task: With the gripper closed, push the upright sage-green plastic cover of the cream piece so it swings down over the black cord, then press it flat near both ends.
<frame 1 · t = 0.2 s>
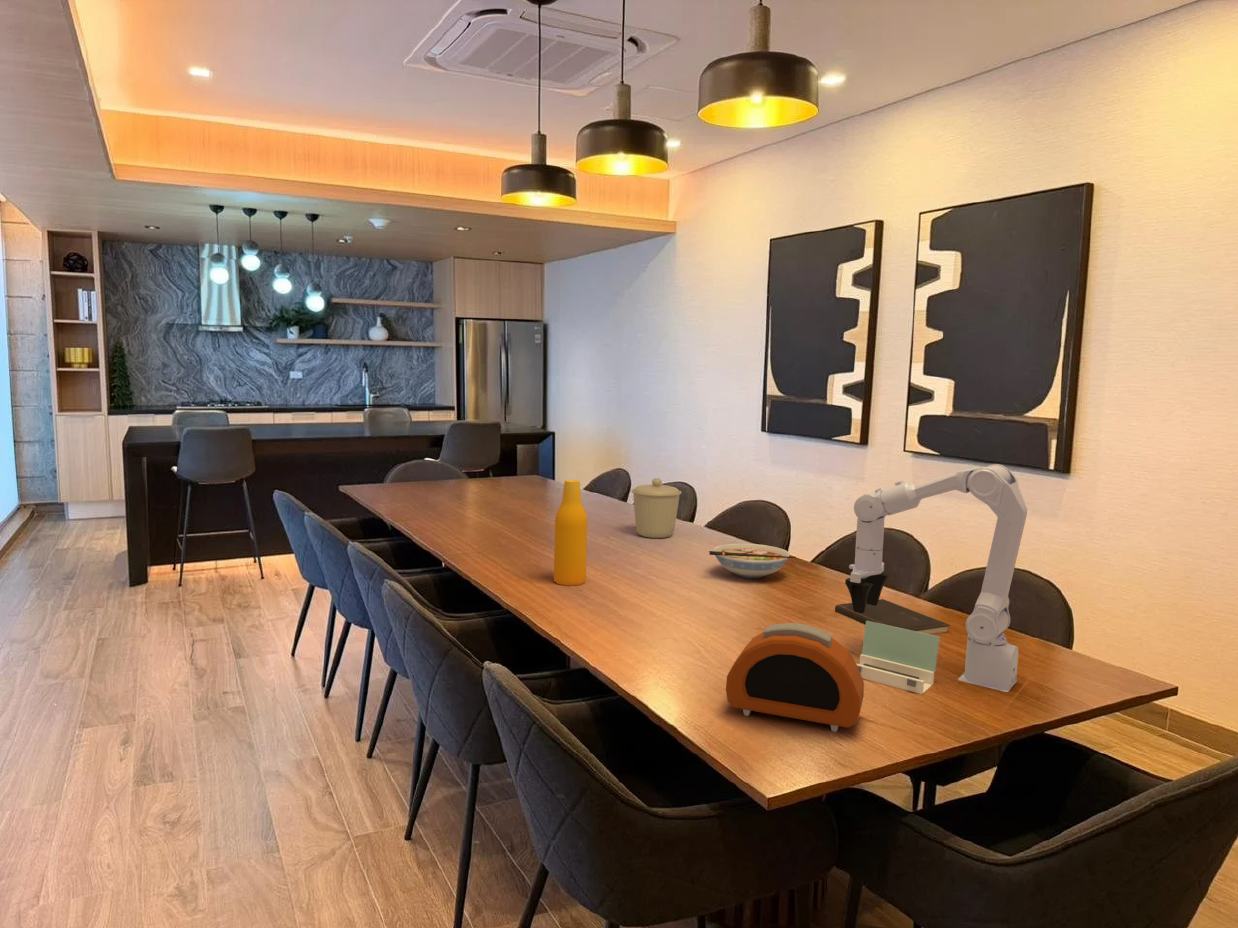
hand: (865, 608, 182), 10 cm above the table, fingers open, 7 cm apart
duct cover: (899, 645, 169), point 6 cm above the table, hinge at 100.0°
hardcover book: (889, 624, 207), on the table
ramen bowl: (750, 576, 248), on the table
alarm clock: (793, 716, 149), on the table
canister: (654, 536, 301), on the table
cream piece: (889, 681, 167), on the table
beer bottle: (569, 582, 235), on the table
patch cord: (889, 678, 167), point 1 cm above the table, touching cream piece
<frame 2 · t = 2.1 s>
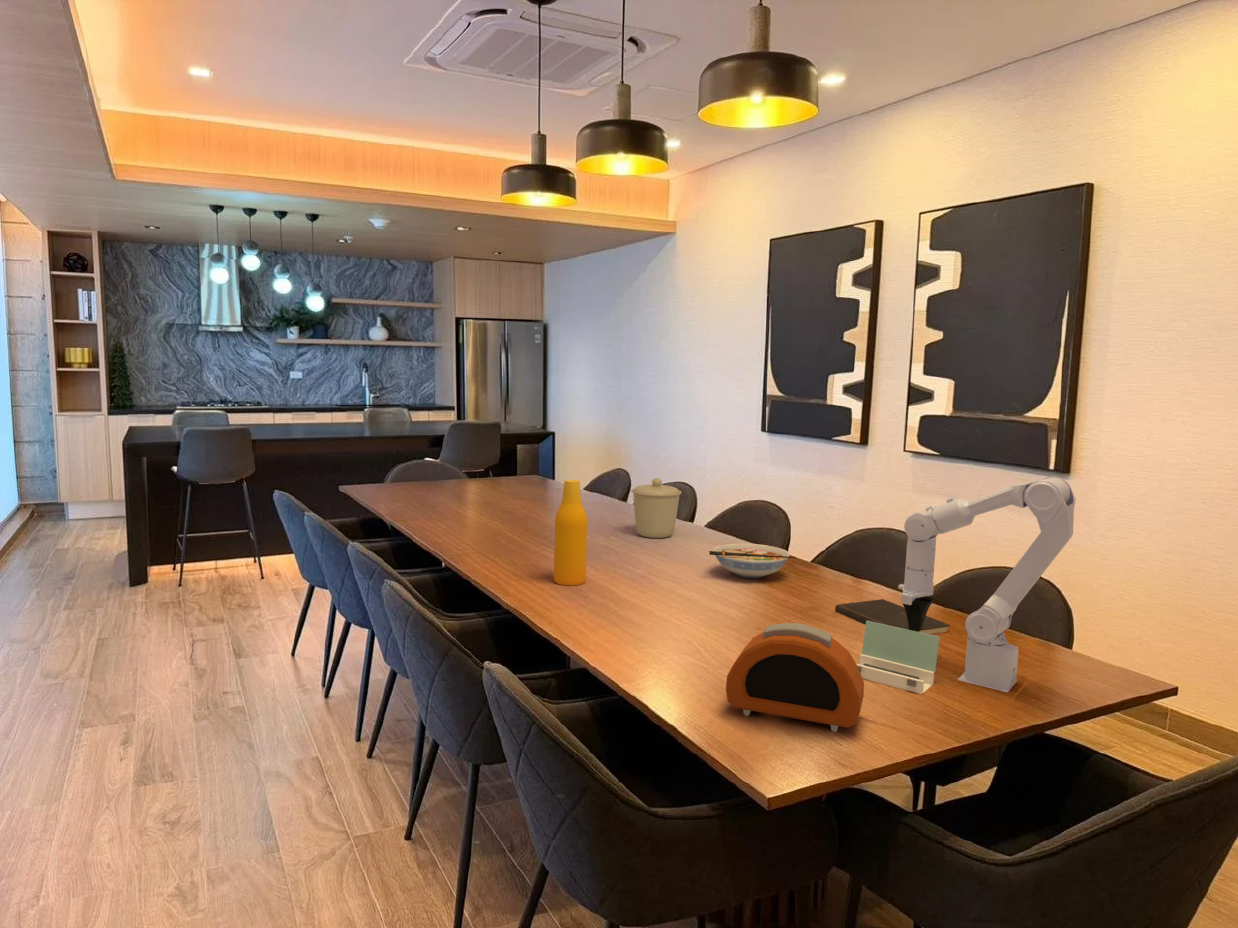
hand: (915, 630, 176), 7 cm above the table, fingers closed
nothing on the table moved.
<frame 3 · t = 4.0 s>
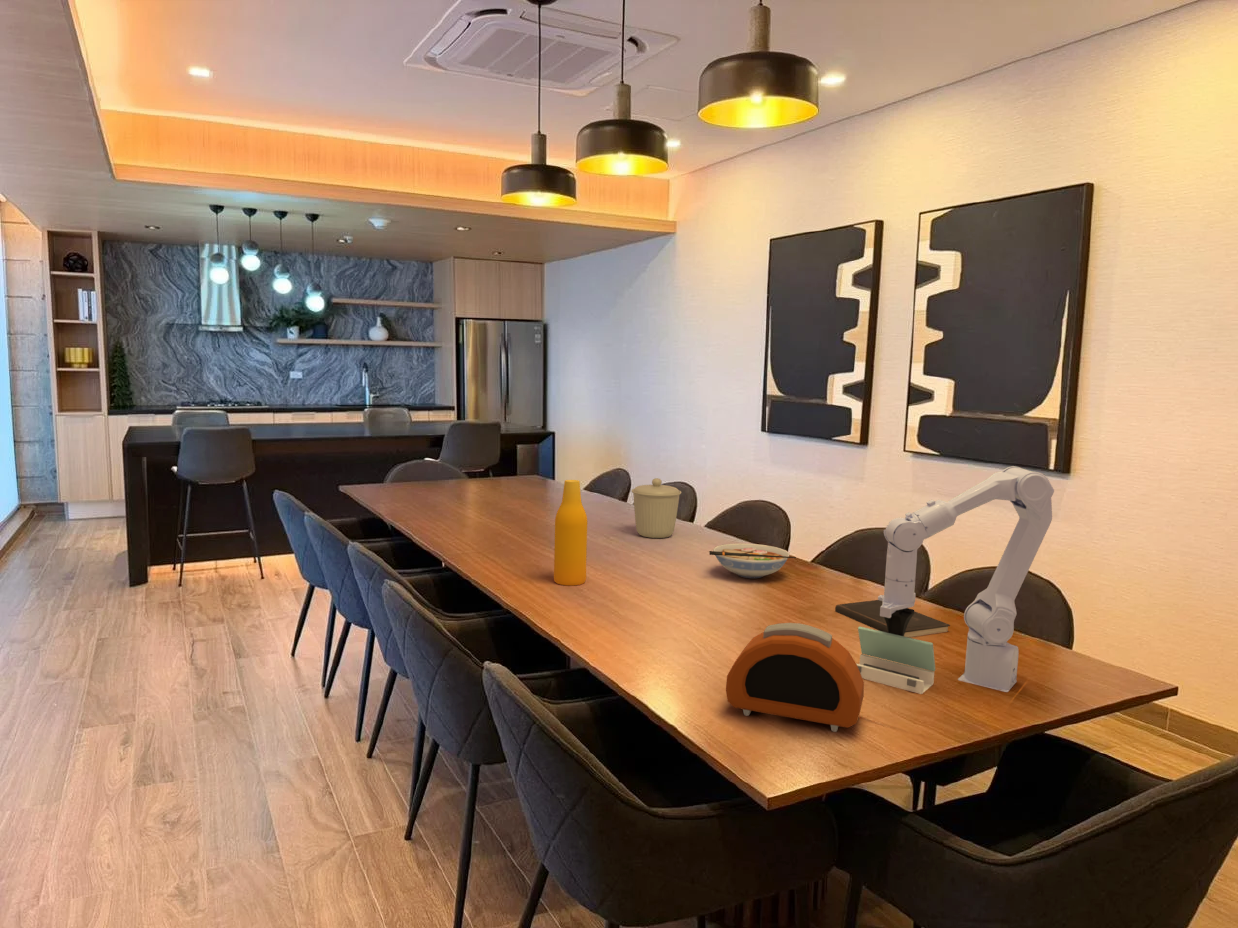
hand: (895, 643, 167), 7 cm above the table, fingers closed, pressing on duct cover
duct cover: (896, 648, 168), point 6 cm above the table, hinge at 63.7°, touching gripper
everything else where it was.
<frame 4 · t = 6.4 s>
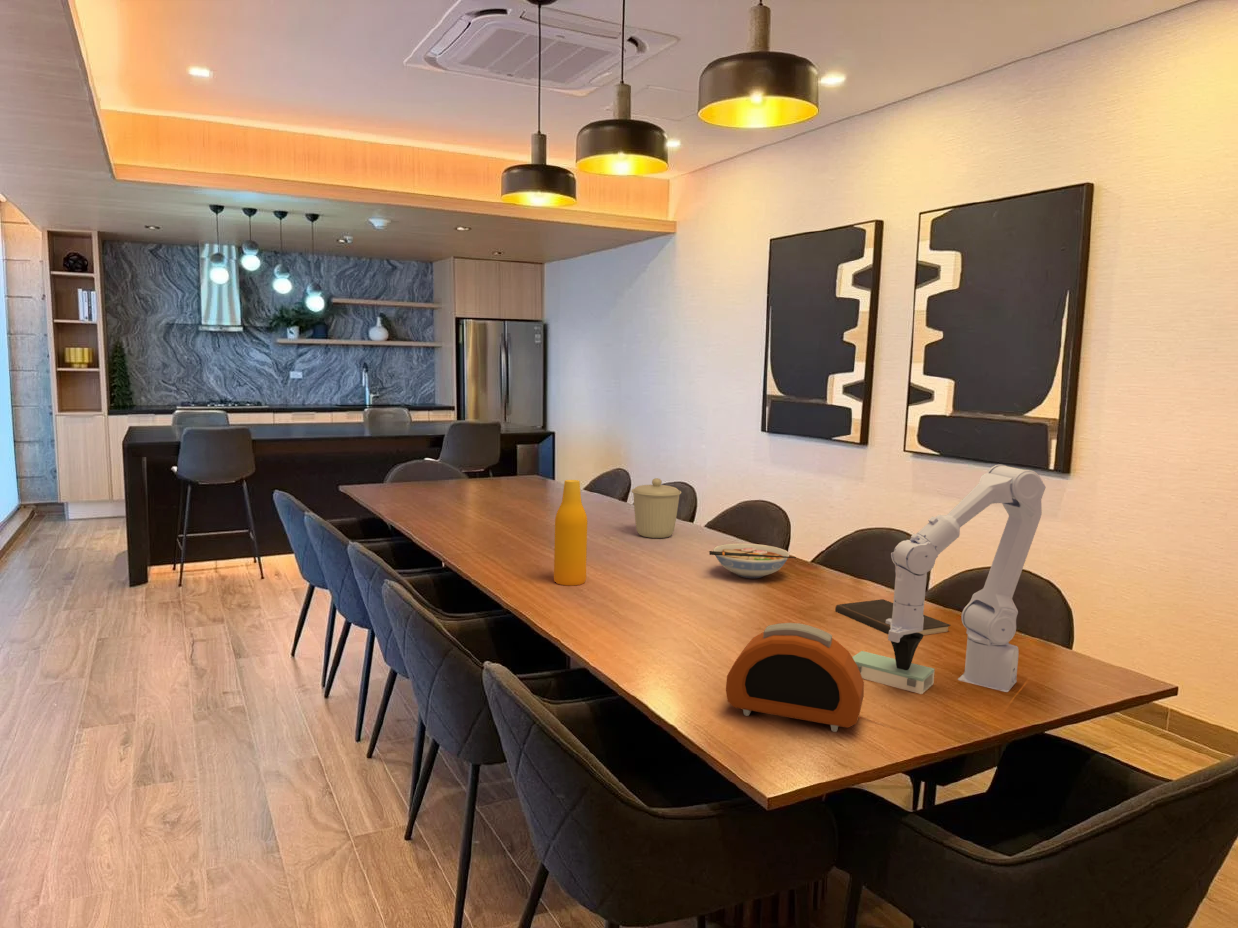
hand: (902, 668, 164), 4 cm above the table, fingers closed, pressing on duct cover
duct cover: (890, 665, 166), point 3 cm above the table, hinge at -0.3°, touching gripper
everything else where it was.
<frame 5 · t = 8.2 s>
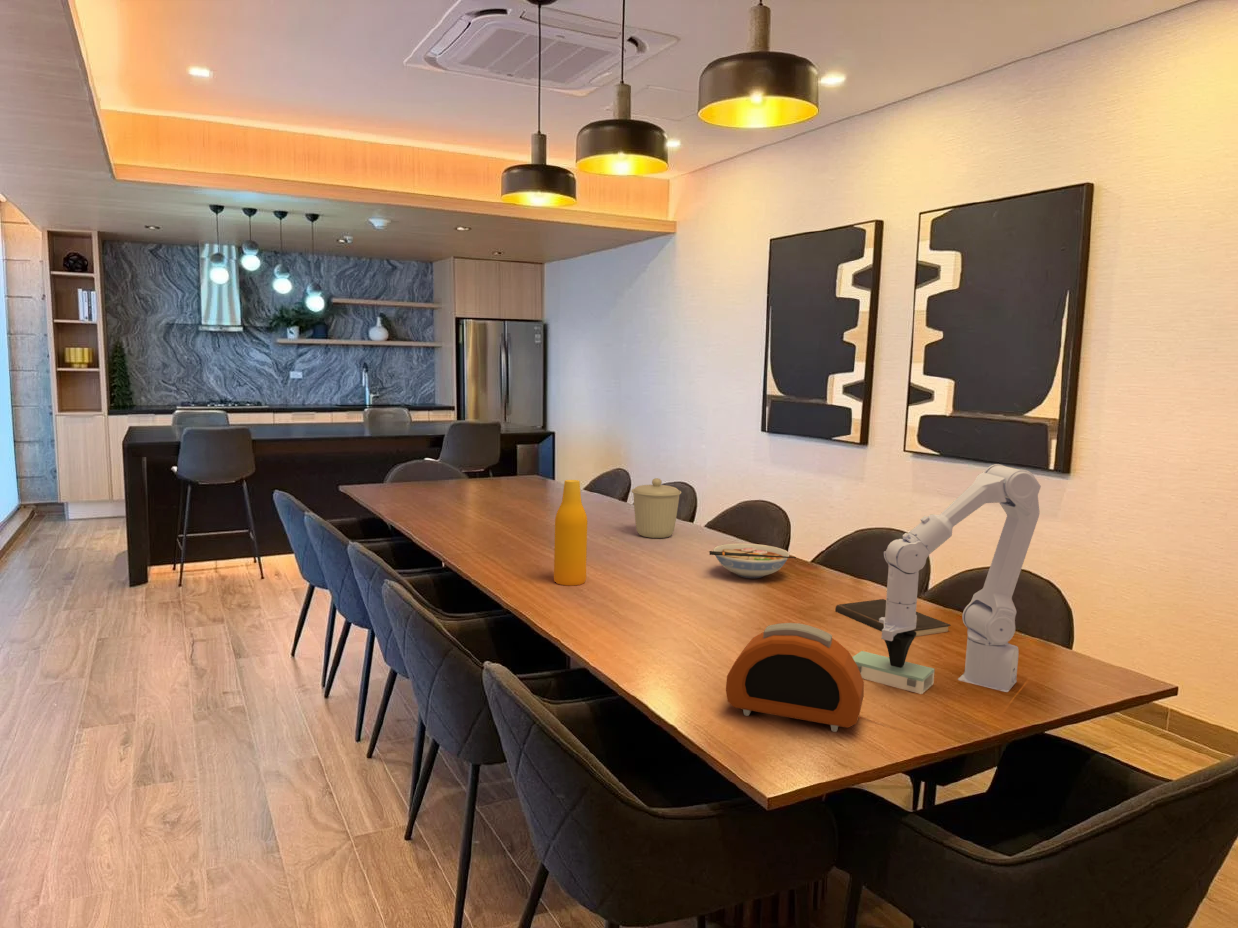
hand: (896, 666, 165), 3 cm above the table, fingers closed, pressing on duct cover
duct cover: (890, 665, 166), point 3 cm above the table, hinge at -0.5°, touching gripper
everything else where it was.
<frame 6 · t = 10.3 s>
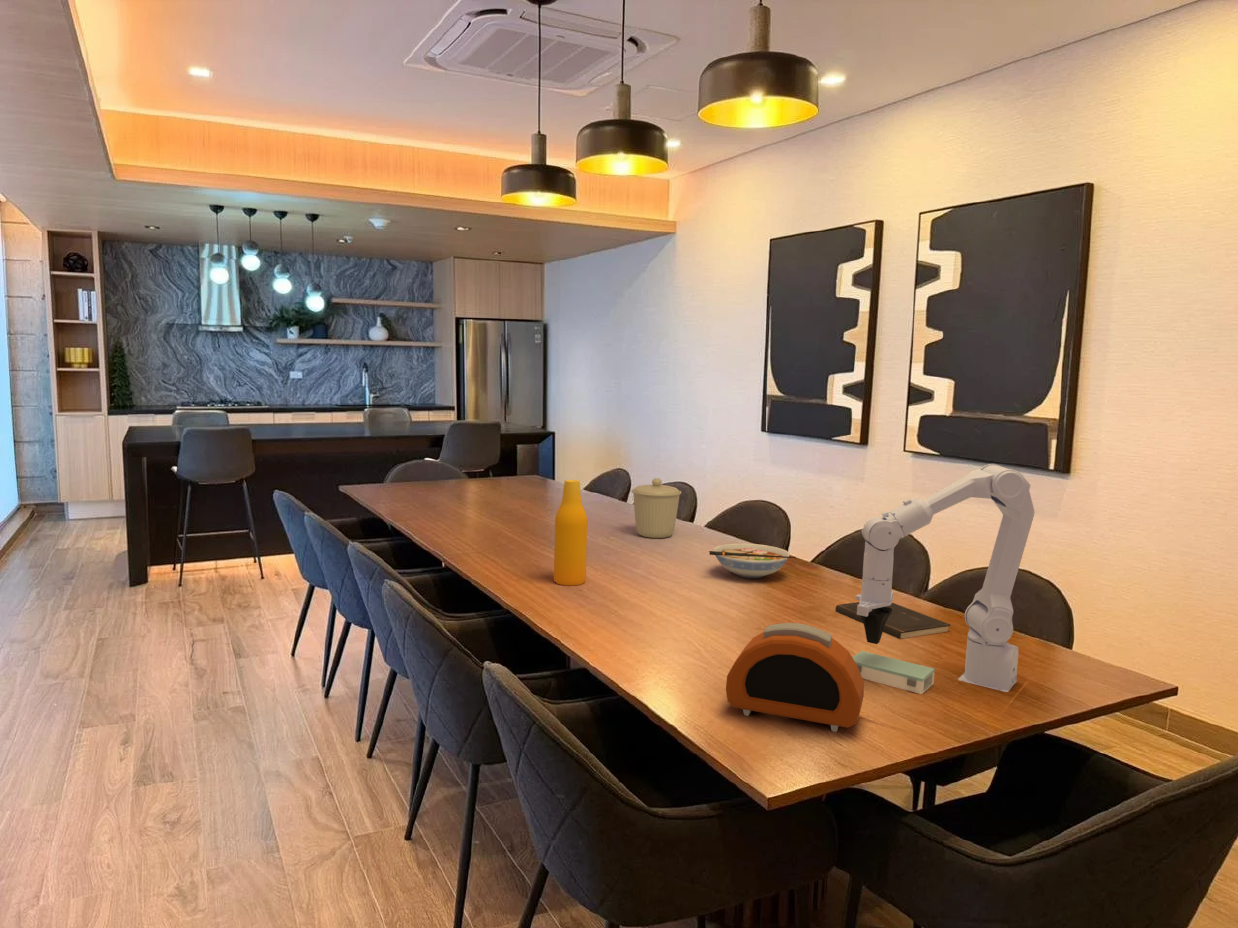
hand: (873, 642, 168), 7 cm above the table, fingers closed
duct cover: (890, 665, 166), point 3 cm above the table, hinge at -0.8°
everything else where it was.
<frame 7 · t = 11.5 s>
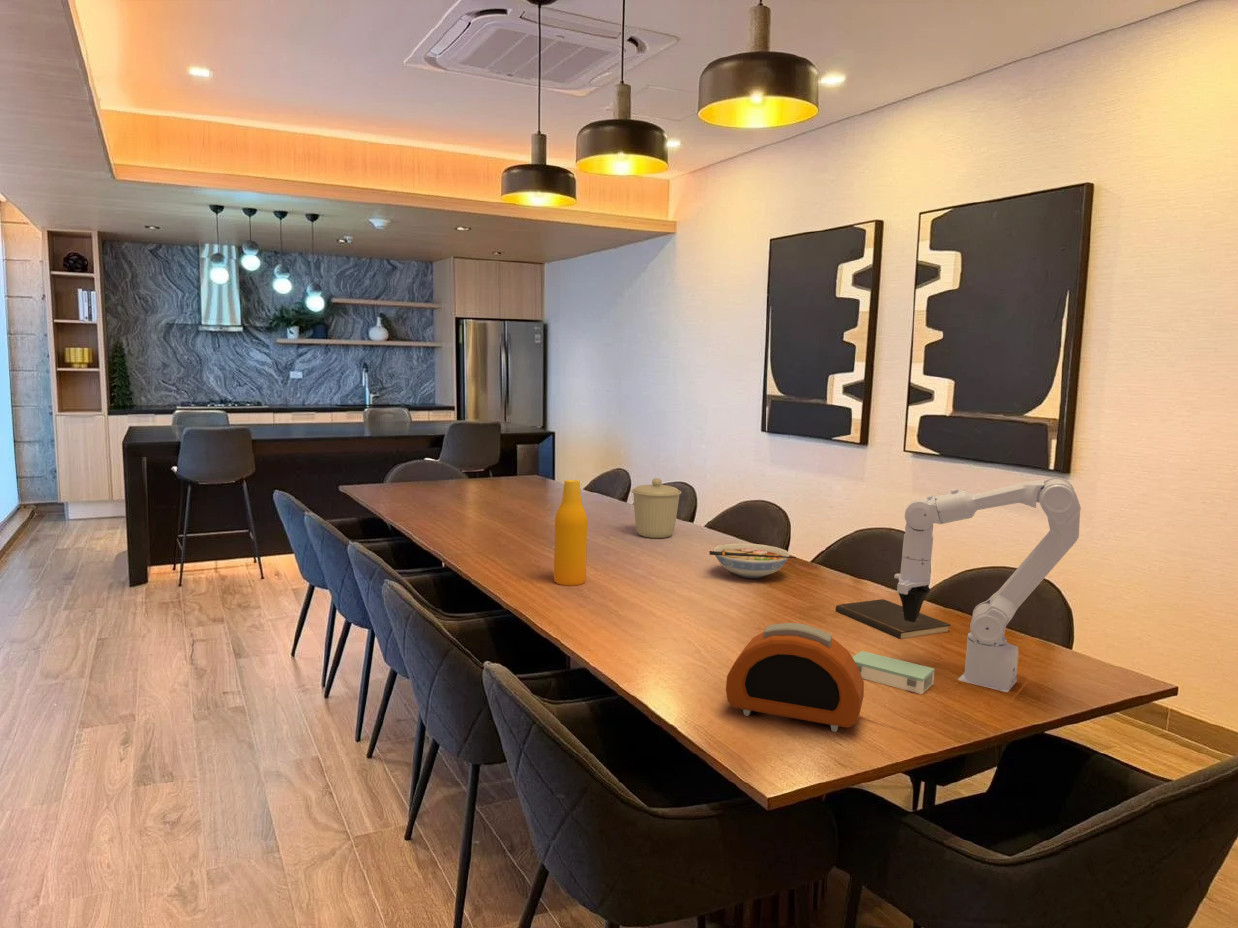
hand: (910, 620, 173), 10 cm above the table, fingers closed
nothing on the table moved.
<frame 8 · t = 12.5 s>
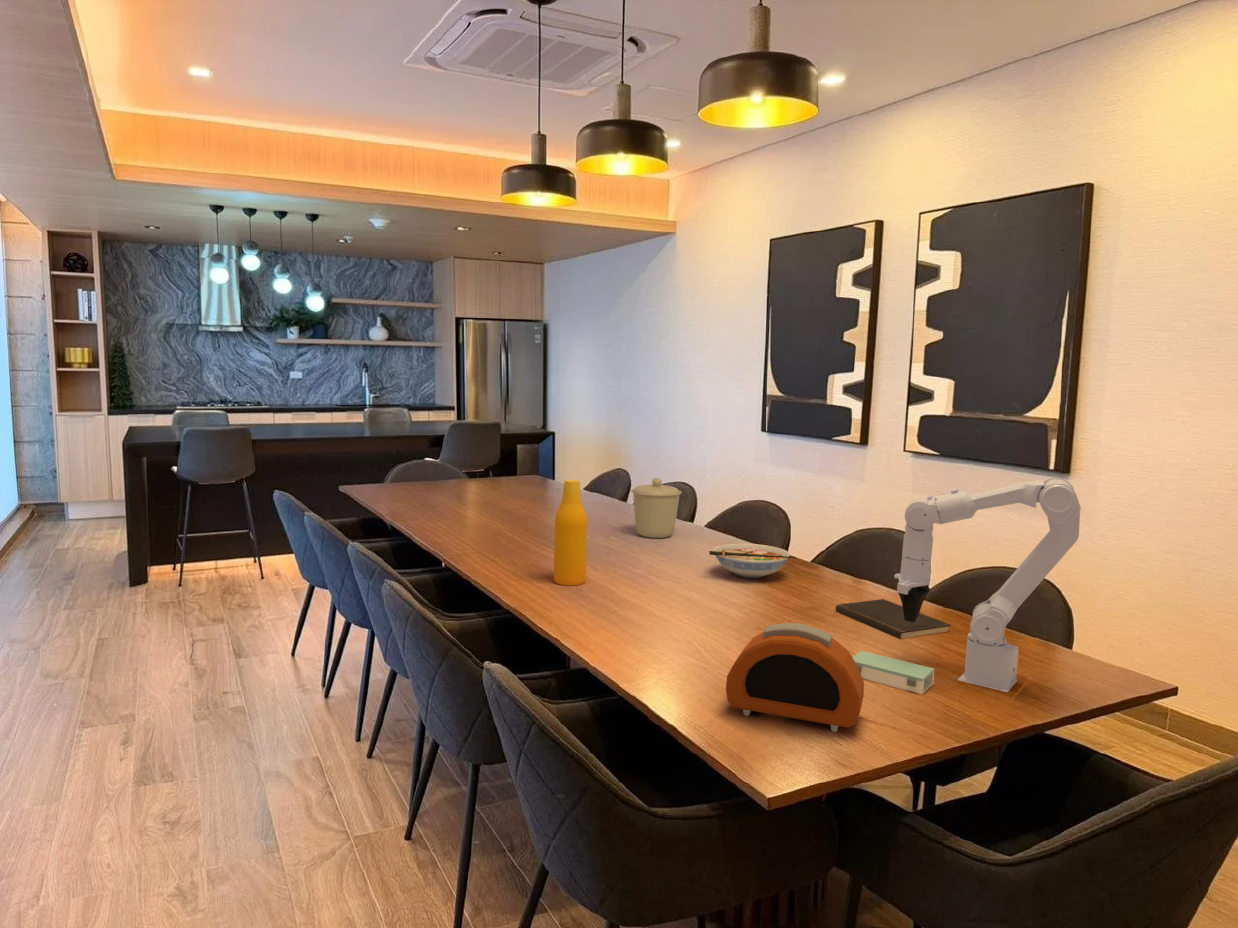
hand: (910, 620, 173), 10 cm above the table, fingers closed
nothing on the table moved.
at the end: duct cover at -1° (first picture: +100°) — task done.
